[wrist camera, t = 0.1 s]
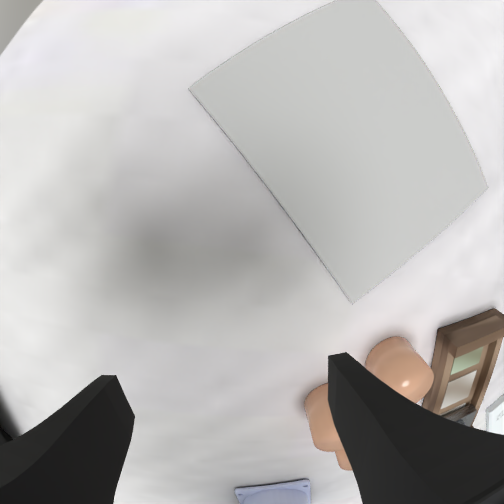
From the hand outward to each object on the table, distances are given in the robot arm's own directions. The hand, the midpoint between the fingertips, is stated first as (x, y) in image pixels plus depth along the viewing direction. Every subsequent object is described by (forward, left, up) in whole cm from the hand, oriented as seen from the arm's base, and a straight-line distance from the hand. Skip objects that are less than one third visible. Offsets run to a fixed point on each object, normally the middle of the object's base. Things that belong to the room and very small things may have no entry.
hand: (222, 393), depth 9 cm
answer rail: (-15, -19, -10) cm, 26 cm away
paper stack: (+7, -16, -11) cm, 20 cm away
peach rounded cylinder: (-12, -6, -10) cm, 16 cm away
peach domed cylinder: (-9, -11, -10) cm, 17 cm away
